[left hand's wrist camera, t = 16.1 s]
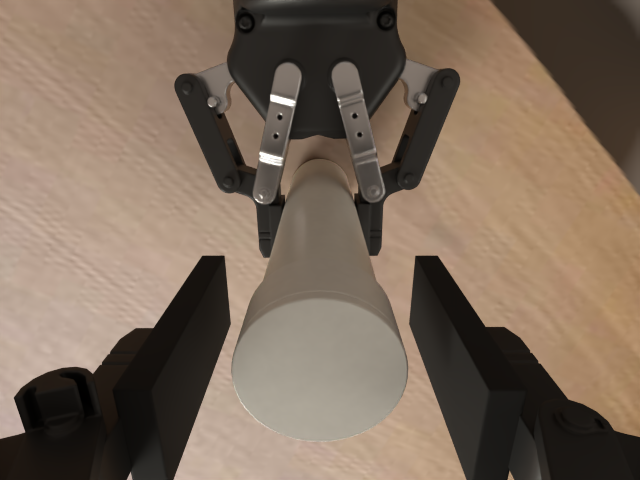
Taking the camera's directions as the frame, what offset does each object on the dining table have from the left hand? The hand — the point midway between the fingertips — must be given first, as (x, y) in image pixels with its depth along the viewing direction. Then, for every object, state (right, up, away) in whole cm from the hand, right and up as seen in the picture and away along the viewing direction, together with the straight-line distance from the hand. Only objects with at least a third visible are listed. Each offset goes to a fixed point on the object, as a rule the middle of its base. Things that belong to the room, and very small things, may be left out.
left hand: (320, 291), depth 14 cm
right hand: (0, +1, +9) cm, 9 cm away
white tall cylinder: (0, +5, +14) cm, 15 cm away
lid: (0, -2, -4) cm, 4 cm away
